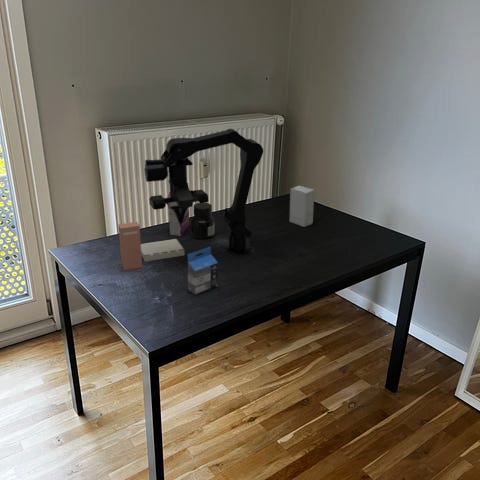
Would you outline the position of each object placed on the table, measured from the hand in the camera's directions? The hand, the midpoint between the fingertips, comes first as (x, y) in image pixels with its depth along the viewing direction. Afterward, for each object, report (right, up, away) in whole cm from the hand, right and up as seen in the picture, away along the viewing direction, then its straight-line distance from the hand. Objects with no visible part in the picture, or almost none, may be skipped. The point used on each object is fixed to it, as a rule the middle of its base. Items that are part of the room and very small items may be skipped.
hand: (180, 223), depth 161 cm
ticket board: (-8, -10, +8) cm, 15 cm away
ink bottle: (+6, -4, +22) cm, 24 cm away
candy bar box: (-3, -2, +26) cm, 26 cm away
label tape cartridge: (+9, -21, -14) cm, 26 cm away
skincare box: (+45, +1, +36) cm, 58 cm away
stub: (-16, -15, -3) cm, 22 cm away
